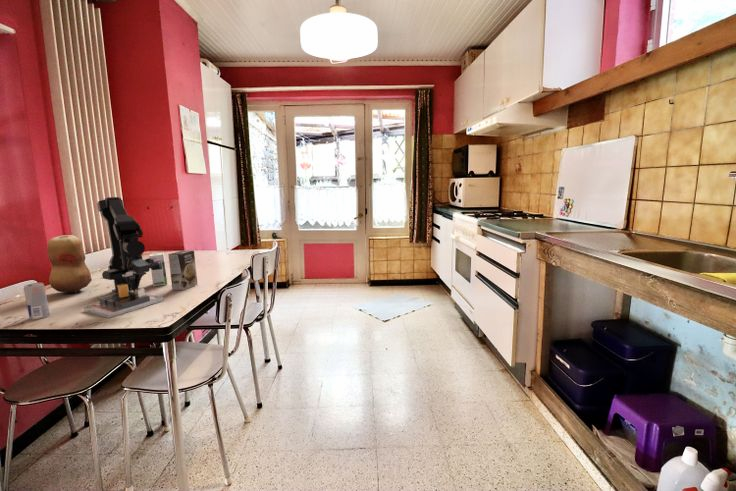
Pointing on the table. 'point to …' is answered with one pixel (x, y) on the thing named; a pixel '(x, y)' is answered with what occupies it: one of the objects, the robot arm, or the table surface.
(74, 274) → the butternut squash
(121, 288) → the orange rectangular block
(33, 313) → the white carton
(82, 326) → the table surface
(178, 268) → the coffee box
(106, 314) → the panel
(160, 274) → the syrup box
